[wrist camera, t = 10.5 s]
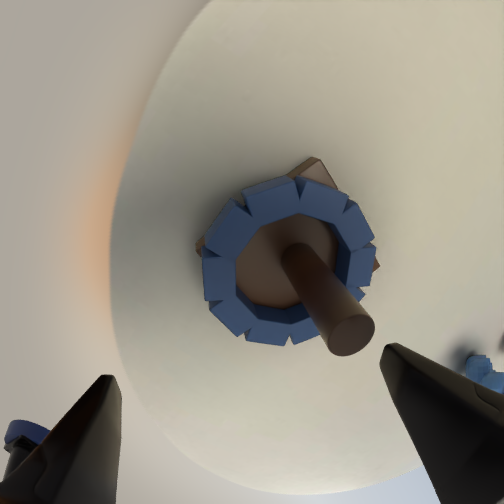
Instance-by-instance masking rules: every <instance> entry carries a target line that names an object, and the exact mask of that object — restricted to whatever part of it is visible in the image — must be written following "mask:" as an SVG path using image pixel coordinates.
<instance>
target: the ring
mask: <svg viewBox="0 0 504 504" xmlns="http://www.w3.org/2000/svg"><path fill="white" fill-rule="evenodd" d="M241 194H242V197H243V200H244V202H245V205H246V207H245V206H244V205H242V204H241V203H239V202H238V201H236V200H235V199H233V198H230V200H229V201H228V202H227V204H226V205H225V207H224V208H223V209H222V211H221V212H220V214H219V215H218V216H217V218H216V219H215V221H214V222H213V224H212V225H211V227H210V228H209V229H208V231H207V232H206V234H205V246H201V252H202V269H203V283H204V296H205V301H209V310H210V311H211V312H212V313H213V314H214V315H215V316H216V317H217V318H218V319H219V320H220V321H221V322H222V323H223V324H224V325H225V326H226V327H227V328H228V329H229V330H230V331H231V332H232V333H233V334H234V335H235V336H236V337H238V336H240V335H241V334H243V333H244V335H245V339H246V341H250V342H257V343H264V344H271V345H278V346H284V345H285V343H286V341H287V339H288V337H289V336H290V338H291V340H292V343H293V344H294V345H295V344H298V343H300V342H303V341H306V340H308V339H311V338H313V337H316V336H318V335H320V333H319V331H318V330H317V328H316V326H315V324H314V323H313V321H312V319H311V317H310V316H309V314H308V312H307V310H306V309H305V307H304V305H303V303H301V304H298V305H295V306H293V307H290V308H287V309H285V310H282V309H277V308H271V307H266V306H261V305H255V304H253V303H252V302H251V301H250V300H249V299H248V297H247V296H246V295H245V294H244V293H243V292H242V291H241V290H240V289H239V287H238V286H237V285H236V259H237V257H238V256H239V255H240V253H241V252H242V251H243V249H244V248H245V247H246V245H247V244H248V243H249V241H250V240H251V239H252V237H253V236H254V235H255V233H256V232H257V230H258V229H259V228H260V227H261V226H264V225H267V224H269V223H272V222H275V221H278V220H281V219H283V218H286V217H289V216H292V215H295V214H298V213H300V214H303V215H306V216H309V217H312V218H316V219H319V220H322V221H325V222H327V223H328V225H329V226H330V228H331V230H332V231H333V233H334V235H335V236H336V238H337V239H338V241H339V246H338V254H337V262H336V270H335V275H336V276H337V277H338V279H339V280H340V281H341V282H342V283H343V284H344V286H345V287H346V288H347V289H348V290H349V292H350V293H351V294H352V295H353V296H354V297H355V299H356V300H357V301H358V302H359V301H360V300H361V299H362V298H363V297H364V295H365V293H364V292H363V291H362V290H361V289H360V288H359V287H364V286H370V281H371V276H372V270H373V265H374V259H375V253H376V247H375V246H374V245H373V244H371V243H370V241H372V240H373V239H374V238H375V237H374V235H373V233H372V231H371V229H370V227H369V225H368V223H367V221H366V219H365V217H364V215H363V214H362V212H361V210H360V208H359V206H358V204H357V203H356V202H354V201H352V200H350V199H349V198H348V197H349V196H348V195H347V194H345V193H343V192H341V191H339V190H337V189H335V188H332V187H329V186H327V185H324V184H321V183H318V182H316V181H313V180H310V179H307V178H304V177H301V176H299V175H297V176H296V178H295V181H294V180H292V179H290V178H289V177H287V176H281V177H278V178H275V179H272V180H269V181H266V182H264V183H261V184H258V185H255V186H252V187H249V188H246V189H243V190H242V191H241Z"/></svg>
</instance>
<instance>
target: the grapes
mask: <svg viewBox="0 0 504 504" xmlns="http://www.w3.org/2000/svg"><path fill="white" fill-rule="evenodd" d="M465 369H466V378H468V379H470V380H472V381H473V382H476V383H478V384H480V385H483V386H485V387H487V388H489V389H491V390H494V391H496V392H498V393H501V394H504V372H495V370H492V363H490V358H486V355H474V356H471V357H469V358H468V360H467V362H466V367H465Z"/></svg>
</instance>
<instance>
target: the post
mask: <svg viewBox="0 0 504 504" xmlns="http://www.w3.org/2000/svg"><path fill="white" fill-rule="evenodd" d="M297 175H299V176H301V177H304V178H307V179H310V180H313V181H316V182H318V183H321V184H324V185H327V186H329V187H332V188H335V189H337V190H338V188H337V186H336V184H335V183H334V181H333V179H332V178H331V176H330V174H329V173H328V171H327V170H326V168H325V166H324V165H323V163H322V161H321V160H320V159H318V158H314V157H311V158H310V159H308V160H307V161H305V162H304V163H302V164H301V165H300V166H298V167H297V168H295V169H294V170H293V171H291V172H290V173H288V174H287V175H286V176H287V177H289V178H290V179H292V180H294V181H295V178H296V176H297ZM245 207H246V205H245ZM201 246H205V236H204V237H203V238H201V239H200V240H199V241H197V242H196V252H197V253H198V254H199V256H200V257H201V258H202V252H201ZM338 246H339V241H338V239H337V238H336V236H335V235H334V233H333V231H332V230H331V228H330V226H329V225H328V223H327V222H325V221H322V220H319V219H316V218H312V217H309V216H306V215H303V214H300V213H298V214H295V215H292V216H289V217H286V218H283V219H281V220H278V221H275V222H272V223H269V224H267V225H264V226H261V227H260V228H259V229H258V230H257V232H256V233H255V235H254V236H253V237H252V239H251V240H250V241H249V243H248V244H247V245H246V247H245V248H244V249H243V251H242V252H241V253H240V255H239V256H238V257H237V259H236V285H237V286H238V287H239V289H240V290H241V291H242V292H243V293H244V294H245V295H246V296H247V297H248V299H249V300H250V301H251V302H252V303H253V304H255V305H261V306H266V307H271V308H277V309H282V310H285V309H287V308H290V307H293V306H295V305H298V304H301V303H303V305H304V307H305V309H306V310H307V312H308V314H309V316H310V317H311V319H312V321H313V323H314V324H315V326H316V328H317V330H318V331H319V333H320V335H321V337H322V338H323V340H324V342H325V344H326V346H327V347H328V349H329V351H330V352H331V353H333V354H334V355H337V356H349V355H352V354H355V353H357V352H358V351H360V350H361V349H363V348H364V347H365V346H366V345H367V344H368V343H369V342H370V340H371V339H372V337H373V334H374V331H375V324H374V321H373V319H372V318H371V317H370V315H369V314H368V313H367V312H366V311H365V309H364V308H363V307H362V306H361V305H360V303H359V302H358V301H357V300H356V299H355V297H354V296H353V295H352V294H351V293H350V292H349V290H348V289H347V288H346V287H345V286H344V284H343V283H342V282H341V281H340V280H339V279H338V277H337V276H336V275H335V270H336V262H337V254H338ZM379 267H380V265H379V263H378V261H377V259H376V257H375V259H374V265H373V270H372V272H374V271H375V270H376V269H377V268H379Z"/></svg>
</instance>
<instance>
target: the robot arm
mask: <svg viewBox="0 0 504 504" xmlns="http://www.w3.org/2000/svg"><path fill="white" fill-rule="evenodd" d="M380 369H381V372H382V374H383V377H384V379H385V382H386V385H387V387H388V390H389V393H390V395H391V398H392V400H393V403H394V405H395V407H396V409H397V411H398V413H399V415H400V417H401V419H402V421H403V423H404V425H405V427H406V429H407V431H408V433H409V435H410V437H411V439H412V441H413V443H414V445H415V448H416V450H417V452H418V454H419V456H420V458H421V460H422V462H423V465H424V466H425V469H426V471H427V473H428V475H429V478H430V480H431V482H432V484H433V487H434V489H436V490H435V492H436V494H437V496H438V498H439V501H440V503H441V504H504V394H501V393H498V392H496V391H494V390H491V389H489V388H487V387H485V386H483V385H480V384H478V383H476V382H473V381H472V380H470V379H468V378H466V377H464V376H462V375H460V374H458V373H456V372H454V371H452V370H450V369H448V368H446V367H444V366H442V365H440V364H438V363H436V362H434V361H432V360H430V359H428V358H426V357H424V356H422V355H420V354H418V353H416V352H414V351H412V350H410V349H408V348H406V347H404V346H402V345H400V344H398V343H391V344H387V345H386V346H385V347H384V350H383V353H382V356H381V359H380ZM121 405H122V397H121V391H120V389H119V386H118V384H117V381H116V379H115V377H114V376H113V375H101V376H100V377H99V378H98V379H97V380H96V381H95V382H94V383H93V384H92V385H91V387H90V388H89V389H88V390H87V391H86V392H85V393H84V394H83V395H82V396H81V398H80V399H79V400H78V401H77V402H76V403H75V404H74V405H73V407H72V408H71V409H70V410H69V411H68V412H67V413H66V414H65V415H64V417H63V418H62V419H61V420H60V421H59V422H58V423H57V425H56V426H55V427H54V428H53V429H52V430H51V431H50V432H49V434H48V435H47V436H46V437H45V438H44V439H43V440H42V442H41V443H40V444H39V445H38V444H36V443H35V442H33V441H32V440H30V439H29V438H27V437H26V436H24V435H19V436H18V437H16V438H15V439H13V440H11V441H10V442H8V443H7V444H5V446H4V449H5V450H6V451H7V452H9V453H10V458H9V460H8V464H7V467H6V470H5V474H4V478H3V481H2V482H1V483H0V504H116V490H117V477H118V465H119V456H120V446H121Z"/></svg>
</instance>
